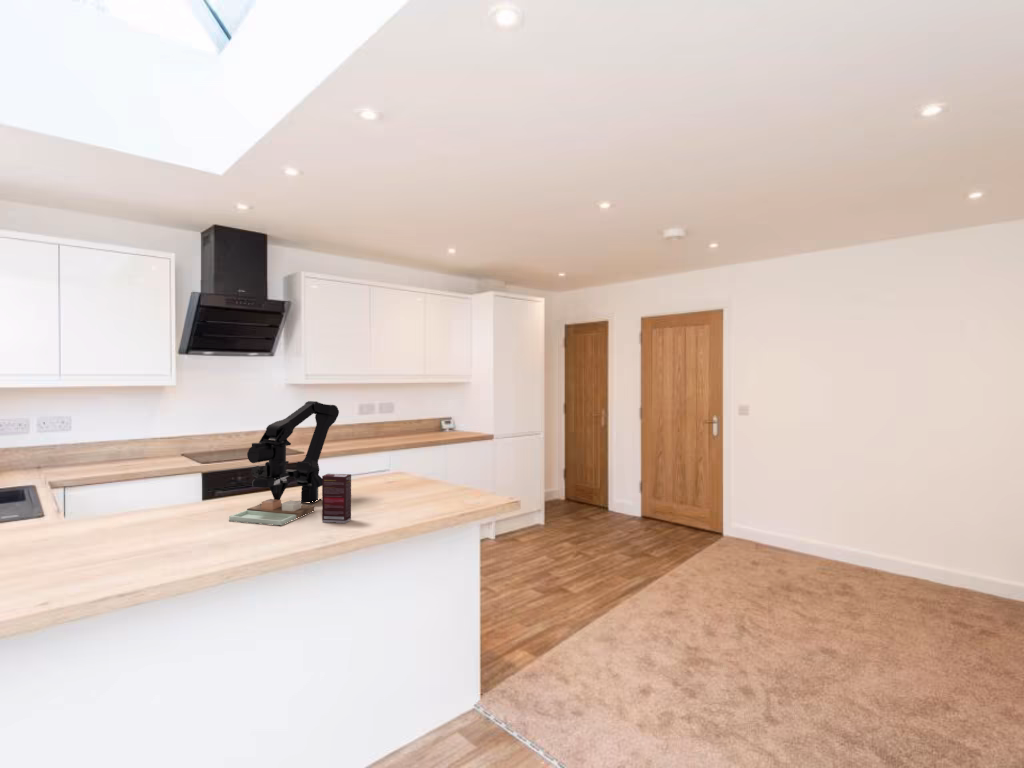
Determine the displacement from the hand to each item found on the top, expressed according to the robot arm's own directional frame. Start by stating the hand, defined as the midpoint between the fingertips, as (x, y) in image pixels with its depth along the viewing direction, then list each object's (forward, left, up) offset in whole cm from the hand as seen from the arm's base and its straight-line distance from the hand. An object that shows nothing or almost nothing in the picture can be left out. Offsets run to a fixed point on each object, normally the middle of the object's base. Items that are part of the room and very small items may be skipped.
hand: (276, 501), depth 187 cm
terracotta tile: (+3, 0, -1) cm, 3 cm away
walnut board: (+2, +3, -3) cm, 5 cm away
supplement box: (+5, +27, -4) cm, 28 cm away
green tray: (+11, +3, -3) cm, 12 cm away
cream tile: (+3, +8, -1) cm, 9 cm away
